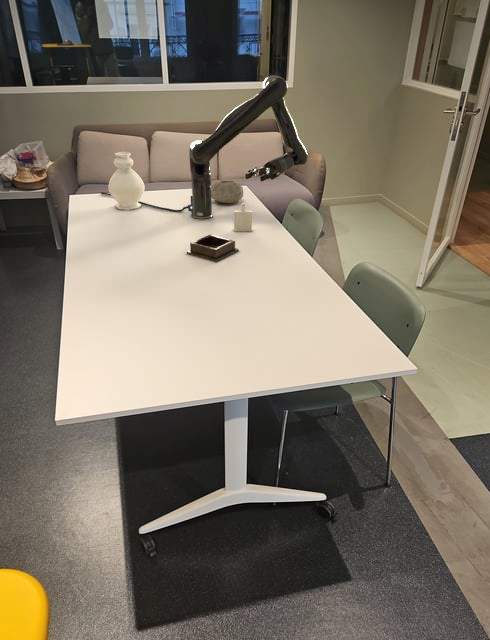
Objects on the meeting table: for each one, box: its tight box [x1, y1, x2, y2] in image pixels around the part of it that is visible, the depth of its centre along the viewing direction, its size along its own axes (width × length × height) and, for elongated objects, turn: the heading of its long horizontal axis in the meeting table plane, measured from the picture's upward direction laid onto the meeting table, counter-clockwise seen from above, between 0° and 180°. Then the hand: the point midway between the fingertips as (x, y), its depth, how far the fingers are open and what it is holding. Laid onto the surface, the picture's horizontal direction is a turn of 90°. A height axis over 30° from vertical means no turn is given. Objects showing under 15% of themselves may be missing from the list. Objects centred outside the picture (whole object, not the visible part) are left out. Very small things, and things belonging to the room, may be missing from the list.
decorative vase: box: [107, 151, 146, 211], centre depth 250 cm, size 18×18×25 cm
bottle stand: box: [186, 234, 239, 263], centre depth 203 cm, size 15×15×4 cm
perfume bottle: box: [233, 202, 253, 232], centre depth 224 cm, size 8×2×12 cm, turn 90°
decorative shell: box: [211, 179, 244, 204], centre depth 264 cm, size 18×18×10 cm
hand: (253, 178), depth 222 cm, fingers open, 8 cm apart
